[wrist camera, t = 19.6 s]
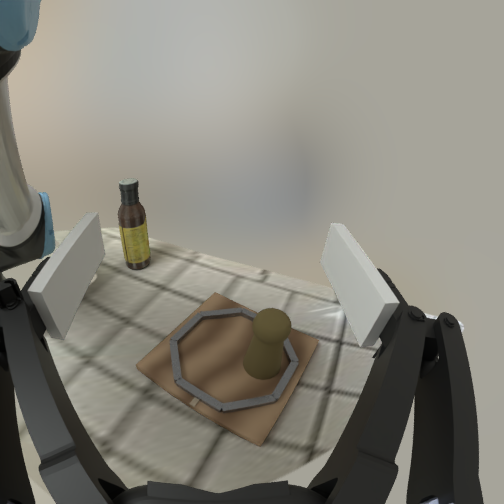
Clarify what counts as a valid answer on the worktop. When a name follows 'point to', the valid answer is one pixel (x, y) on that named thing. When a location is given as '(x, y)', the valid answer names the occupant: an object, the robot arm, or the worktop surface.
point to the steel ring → (207, 398)
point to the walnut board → (225, 369)
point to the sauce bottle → (133, 226)
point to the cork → (267, 344)
